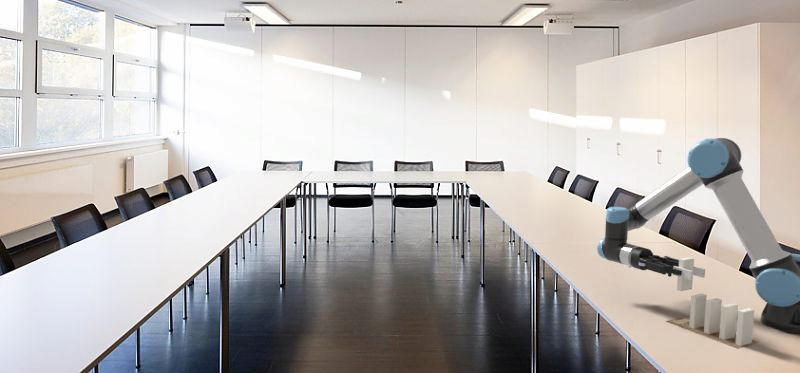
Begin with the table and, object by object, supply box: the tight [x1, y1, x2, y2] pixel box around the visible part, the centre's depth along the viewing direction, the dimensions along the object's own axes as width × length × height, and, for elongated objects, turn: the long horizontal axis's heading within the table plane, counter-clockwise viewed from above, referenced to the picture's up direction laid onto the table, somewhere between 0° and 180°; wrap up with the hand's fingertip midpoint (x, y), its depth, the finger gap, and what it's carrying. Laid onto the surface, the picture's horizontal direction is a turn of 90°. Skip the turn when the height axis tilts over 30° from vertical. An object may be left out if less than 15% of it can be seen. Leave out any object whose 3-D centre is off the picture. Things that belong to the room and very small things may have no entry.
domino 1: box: [676, 256, 695, 292], centre depth 185 cm, size 2×5×10 cm, turn 117°
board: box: [665, 316, 760, 350], centre depth 178 cm, size 10×24×1 cm, turn 27°
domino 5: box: [735, 307, 755, 346], centre depth 168 cm, size 2×5×10 cm, turn 117°
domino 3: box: [704, 297, 723, 334], centre depth 177 cm, size 2×5×10 cm, turn 117°
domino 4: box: [719, 302, 739, 340], centre depth 173 cm, size 2×5×10 cm, turn 117°
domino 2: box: [689, 293, 708, 328], centre depth 181 cm, size 2×5×10 cm, turn 117°
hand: (698, 274), depth 181 cm, fingers closed on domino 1, 5 cm apart
